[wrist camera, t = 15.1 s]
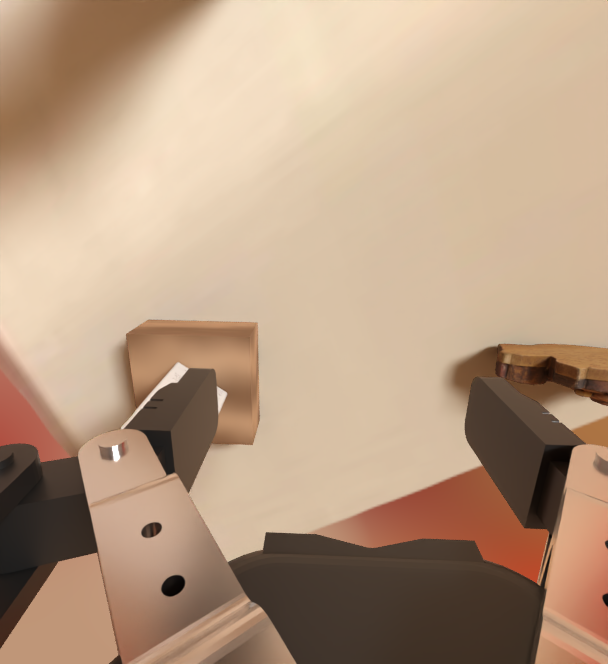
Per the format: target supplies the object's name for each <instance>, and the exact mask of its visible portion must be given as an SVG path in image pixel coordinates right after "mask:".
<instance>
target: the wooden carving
mask: <svg viewBox="0 0 608 664" xmlns="http://www.w3.org/2000/svg"><path fill="white" fill-rule="evenodd" d="M495 370H496V375H497V376H499V377H501V378H505V379H508V380H511V381H515V382H519V383H526V384H532V385H535V384H544V383H545V382H546V381H552V382H555V383H557V384H561V385H563V386H566V387H570V388H571V389H572V390H574V392H575V393H576V394H577V395H580V396H584V397H590V398H591V400H592V401H594V402H597V403H600V404H602V405H606V406H608V349H606V348H596V347H587V346H576V345H558V344H537V345H516V344H499V345H498V357H497V362H496V369H495Z"/></svg>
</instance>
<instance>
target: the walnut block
mask: <svg viewBox="0 0 608 664" xmlns="http://www.w3.org/2000/svg"><path fill="white" fill-rule="evenodd" d="M126 337H127V345H128V352H129V359H130V367H131V374H132V381H133V388H134V396H135V403H136V409H137V408H138V407H139V406H140V405H141V403H142V402H143V401H144V400H145V399H146V398H147V396H148V395H149V394H150V393H151V392H152V391H153V389H154V388H155V387H156V386H157V385H158V384H159V383H160V381H161V380H162V379H163V378H164V377H165V376H166V375H167V373H168V372H169V371H170V370H171V369H172V368H173V367H174V365H175V364H176V363H177V362H179V363H181V364H182V365H184V366H185V367H187V368H209V369H214V370H215V372H216V380H217V387H219V388H220V389H222V390H224V391H225V392H227V396H226V399H225V401H224V403H223V405H222V408H221V410H220V412H219V415H218V427H217V431H216V434H215V436H214V438H213V441H212V443H216V444H245V445H253V442H254V438H255V435H256V431H257V427H258V424H259V420H260V415H259V369H258V323H251V322H213V321H175V320H147V321H146V322H144V323H143V324H141V325H139V326H138V327H136V328H135V329H133V330H132V331H130V332H129V333H127V334H126Z"/></svg>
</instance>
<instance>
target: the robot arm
mask: <svg viewBox="0 0 608 664" xmlns="http://www.w3.org/2000/svg"><path fill="white" fill-rule="evenodd" d="M217 427H218V397H217V380H216V372H215V370H214V369H209V368H189V369H188V370H187V371H186V373H185V374H184V375H183V376H182V378H181V379H180V380H179V381H178V383H170V384H168V385H166V386H164V387H163V388H161V389H159V390H158V391H157V392H156V393H155V394H154V395H153V396H152V397H151V398H150V401H148V402H147V403H146V404H145V405H144V406H143V409H141V410H140V411H139V412H138V413H137V414H136V415H135V417H134V418H133V419H132V420H131V421H130V422H129V423H128V424H127V426H126V427H125V428H124V429H119V430H113V431H109V432H106V433H103V434H100V435H98V436H96V437H94V438H92V439H91V440H89V441H88V442H86V443H85V444H84V445H83V446H82V447H81V449H80V450H79V453H78V456H77V457H72V458H66V459H60V460H54V461H47V462H41V463H40V458H39V454H38V450H37V449H36V448H35V447H34V446H32V445H29V444H10V445H5V446H1V447H0V648H1V647H2V645H3V644H4V642H5V641H6V639H7V638H8V636H9V634H10V633H11V632H12V630H13V629H14V627H15V626H16V624H17V623H18V621H19V620H20V618H21V617H22V615H23V614H24V612H25V611H26V609H27V608H28V606H29V605H30V603H31V602H32V600H33V599H34V598H35V596H36V595H37V593H38V592H39V590H40V588H41V587H42V586H43V584H44V583H45V581H46V580H47V578H48V577H49V575H50V574H51V572H52V571H53V569H54V568H55V566H56V564H57V563H58V561H62V560H67V559H71V558H75V557H80V556H84V555H88V554H92V553H97V554H98V559H99V563H100V568H101V573H102V577H103V583H104V587H105V592H106V597H107V602H108V606H109V611H110V616H111V621H112V626H113V631H114V636H115V641H116V645H117V650H118V656H117V657H116V658H115V659H114V660H113V661H112V662H110V663H109V664H608V448H607V447H603V446H597V445H588V444H586V443H584V442H583V441H582V440H581V439H580V438H579V437H578V436H576V435H575V434H574V433H573V432H572V431H571V430H569V429H568V428H567V427H566V426H565V425H564V424H562V423H559V420H558V419H557V418H555V417H554V416H553V415H552V414H549V411H547V410H546V409H545V408H544V407H543V406H542V405H540V404H539V403H538V402H536V401H534V400H532V399H530V398H528V397H526V396H525V395H523V394H521V393H520V392H518V391H517V390H516V389H515V388H514V387H513V386H512V385H511V384H509V383H508V382H507V381H506V380H505V379H504V378H498V377H475V378H474V380H473V382H472V385H471V390H470V396H469V402H468V407H467V413H466V419H465V435H466V438H467V441H468V443H469V445H470V446H471V448H472V449H473V451H474V452H475V454H476V455H477V457H478V458H479V460H480V461H481V463H482V465H483V466H484V468H485V469H486V471H487V472H488V474H489V475H490V477H491V478H492V480H493V481H494V483H495V484H496V486H497V487H498V489H499V490H500V492H501V493H502V495H503V497H504V498H505V500H506V501H507V503H508V504H509V506H510V507H511V509H512V510H513V512H514V513H515V515H516V516H517V518H518V519H519V521H520V522H521V524H522V525H523V527H524V528H531V529H547V530H548V531H549V535H548V539H547V542H546V546H545V550H544V555H543V559H542V564H541V568H540V573H539V577H538V582H537V583H535V582H533V581H532V580H530V579H528V578H526V577H525V576H523V575H521V574H519V573H517V572H515V571H513V570H511V569H508V568H506V567H504V566H501V565H498V564H496V563H493V562H490V561H487V560H483V558H482V556H481V554H480V551H479V549H478V547H477V545H476V543H475V541H467V540H443V539H442V540H441V539H419V540H414V541H408V542H403V543H399V544H393V545H388V546H383V547H378V548H366V547H363V546H359V545H355V544H351V543H347V542H344V541H340V540H336V539H332V538H328V537H324V536H321V535H317V534H293V533H269V532H266V535H265V541H264V548H263V550H260V551H256V552H252V553H249V554H246V555H243V556H241V557H238V558H236V559H234V560H231V561H229V562H227V561H226V559H225V557H224V555H223V554H222V552H221V550H220V548H219V547H218V545H217V543H216V541H215V540H214V538H213V536H212V534H211V533H210V531H209V529H208V527H207V526H206V524H205V522H204V520H203V519H202V517H201V515H200V513H199V511H198V510H197V508H196V506H195V504H194V503H193V501H192V499H191V497H190V496H189V491H190V489H191V487H192V485H193V483H194V480H195V478H196V476H197V474H198V472H199V469H200V467H201V465H202V463H203V461H204V458H205V456H206V454H207V452H208V449H209V447H210V445H211V443H212V441H213V438H214V436H215V434H216V431H217Z"/></svg>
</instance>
